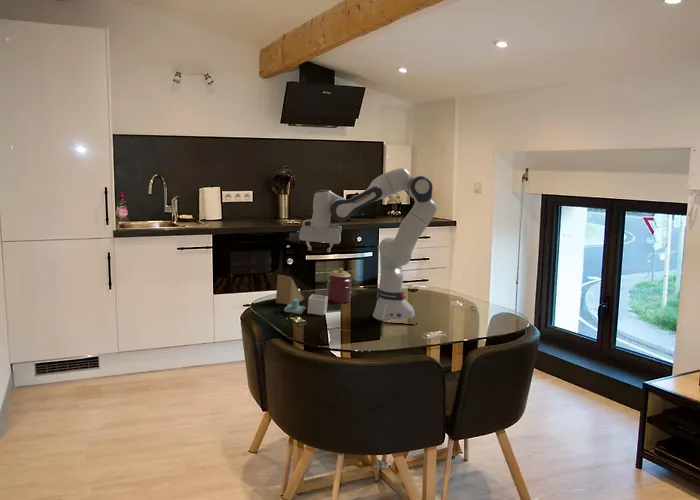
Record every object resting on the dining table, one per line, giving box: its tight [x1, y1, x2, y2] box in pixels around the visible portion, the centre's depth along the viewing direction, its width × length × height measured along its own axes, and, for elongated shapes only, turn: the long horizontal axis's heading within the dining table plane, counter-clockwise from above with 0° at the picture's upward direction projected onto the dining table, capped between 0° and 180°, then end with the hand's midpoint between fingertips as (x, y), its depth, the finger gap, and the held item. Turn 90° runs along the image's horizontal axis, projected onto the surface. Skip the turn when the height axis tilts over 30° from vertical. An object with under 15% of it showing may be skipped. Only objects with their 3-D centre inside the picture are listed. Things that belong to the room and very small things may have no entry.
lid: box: [283, 298, 307, 315], centre depth 307 cm, size 9×9×5 cm
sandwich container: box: [275, 274, 305, 306], centre depth 322 cm, size 9×15×15 cm, turn 151°
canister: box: [325, 267, 353, 304], centre depth 334 cm, size 13×13×18 cm
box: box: [306, 293, 329, 316], centre depth 308 cm, size 8×8×8 cm
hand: (319, 250), depth 309 cm, fingers open, 8 cm apart
